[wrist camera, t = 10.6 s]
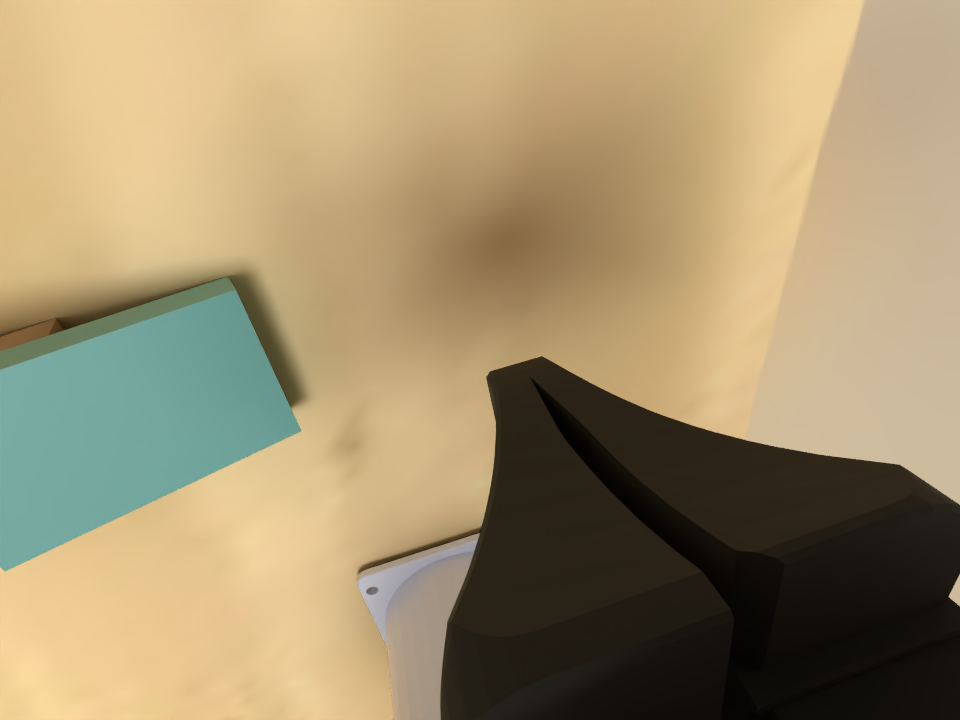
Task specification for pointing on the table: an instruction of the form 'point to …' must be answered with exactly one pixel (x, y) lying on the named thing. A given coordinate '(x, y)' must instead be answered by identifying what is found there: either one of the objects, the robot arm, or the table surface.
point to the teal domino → (129, 414)
